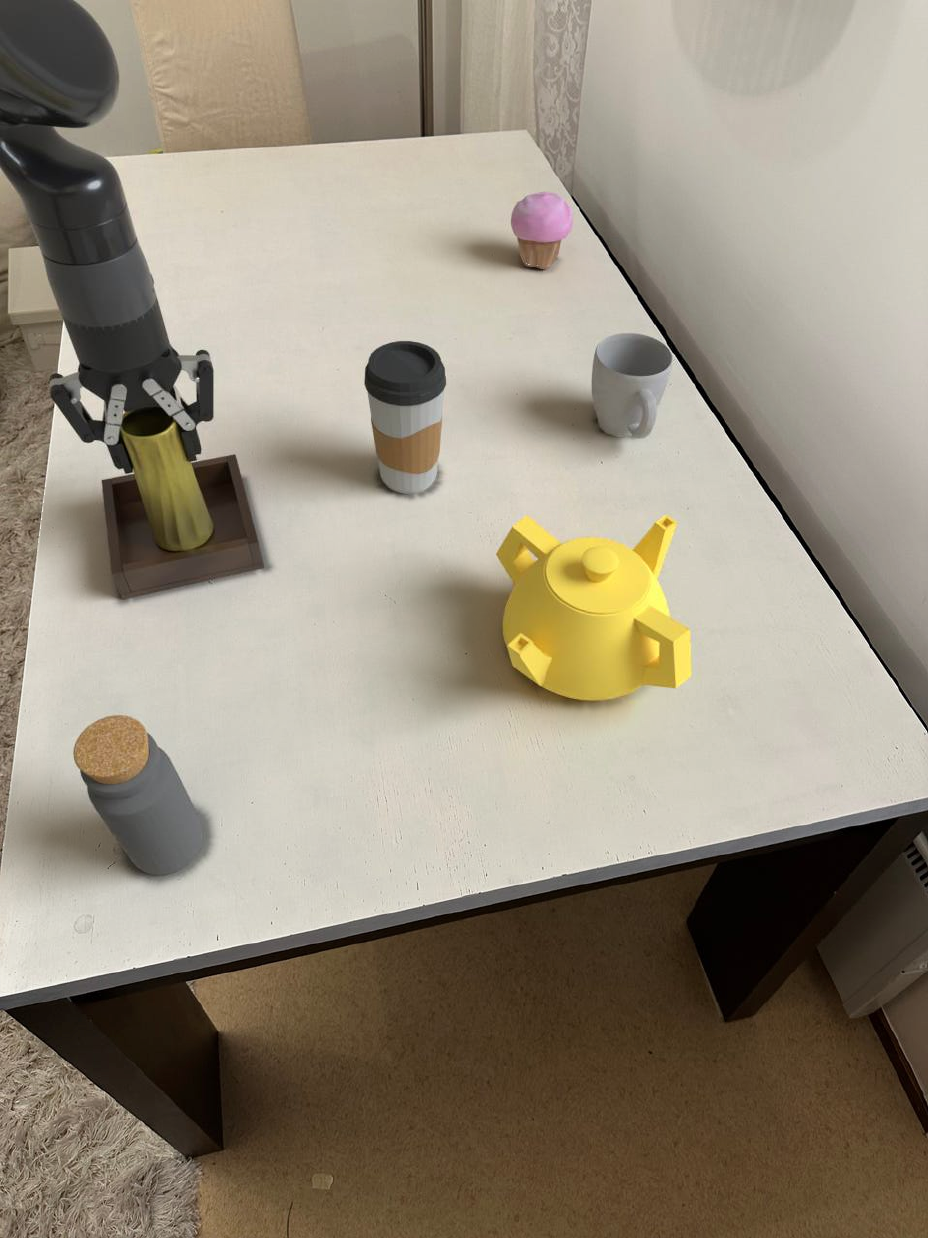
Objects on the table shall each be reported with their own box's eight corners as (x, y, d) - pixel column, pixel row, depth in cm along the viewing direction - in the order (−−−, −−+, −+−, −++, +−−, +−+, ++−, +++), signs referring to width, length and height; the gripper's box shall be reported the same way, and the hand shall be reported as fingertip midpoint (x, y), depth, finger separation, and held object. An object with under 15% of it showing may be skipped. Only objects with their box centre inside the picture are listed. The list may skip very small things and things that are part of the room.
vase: (147, 522, 89) (105, 410, 78) (204, 504, 91) (171, 393, 79) (162, 560, 85) (121, 449, 74) (221, 541, 87) (189, 429, 76)
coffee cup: (415, 443, 99) (412, 328, 87) (460, 480, 95) (463, 365, 83) (357, 472, 96) (346, 356, 84) (401, 512, 92) (396, 397, 80)
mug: (574, 405, 104) (585, 335, 97) (642, 397, 106) (657, 328, 98) (604, 468, 97) (618, 398, 90) (676, 459, 98) (696, 390, 91)
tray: (122, 600, 83) (111, 574, 80) (112, 506, 91) (101, 479, 88) (264, 568, 86) (258, 541, 83) (241, 480, 94) (235, 453, 91)
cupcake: (571, 253, 128) (580, 186, 120) (561, 282, 123) (570, 213, 115) (514, 245, 129) (519, 178, 122) (502, 273, 124) (506, 204, 116)
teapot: (681, 720, 75) (715, 638, 66) (496, 717, 75) (504, 634, 66) (655, 581, 86) (681, 493, 77) (492, 578, 86) (499, 489, 77)
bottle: (130, 885, 65) (63, 794, 53) (127, 817, 68) (63, 718, 57) (208, 865, 66) (158, 771, 54) (201, 800, 70) (153, 698, 58)
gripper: (12, 337, 64) (84, 503, 77) (204, 307, 67) (242, 471, 80) (11, 287, 68) (80, 452, 81) (192, 262, 71) (230, 424, 84)
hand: (160, 461), depth 81 cm, fingers closed on vase, 5 cm apart
